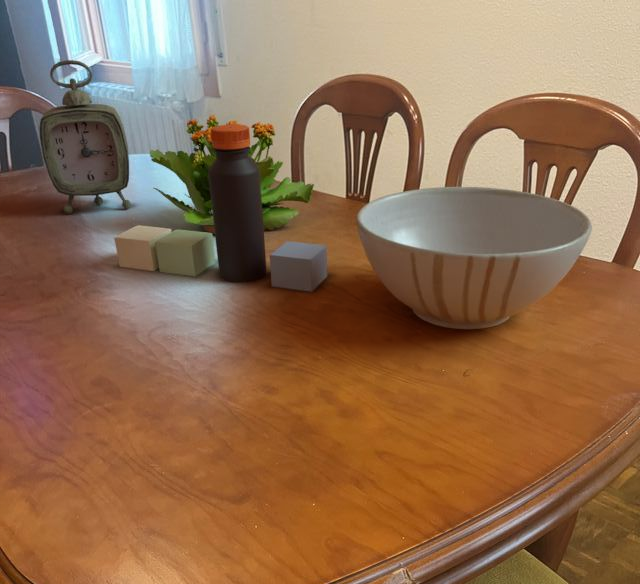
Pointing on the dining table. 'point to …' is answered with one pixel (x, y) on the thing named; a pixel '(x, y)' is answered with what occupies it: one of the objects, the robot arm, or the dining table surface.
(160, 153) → the potted flower
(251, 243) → the dark brown bottle
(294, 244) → the slate block
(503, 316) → the decorative bowl
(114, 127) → the tabletop clock
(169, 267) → the sage block
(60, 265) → the dining table surface
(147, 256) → the cream block
